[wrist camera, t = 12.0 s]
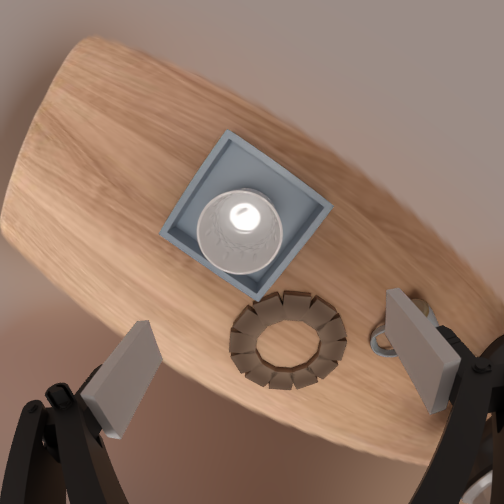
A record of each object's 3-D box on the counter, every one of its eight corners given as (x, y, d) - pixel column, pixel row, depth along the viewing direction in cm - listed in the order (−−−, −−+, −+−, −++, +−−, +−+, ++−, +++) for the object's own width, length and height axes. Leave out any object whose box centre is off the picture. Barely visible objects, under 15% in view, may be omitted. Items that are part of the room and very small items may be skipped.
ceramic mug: (416, 287, 39) (439, 311, 31) (432, 322, 40) (453, 348, 33) (358, 327, 41) (372, 358, 34) (380, 359, 43) (394, 390, 35)
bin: (327, 201, 36) (334, 206, 32) (259, 288, 40) (258, 302, 36) (231, 132, 34) (227, 128, 30) (168, 226, 38) (158, 234, 34)
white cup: (281, 185, 35) (286, 193, 26) (276, 248, 37) (278, 277, 28) (216, 181, 35) (197, 188, 26) (214, 243, 38) (196, 271, 28)
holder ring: (366, 330, 41) (368, 334, 40) (295, 398, 46) (295, 403, 44) (277, 268, 39) (277, 271, 38) (209, 351, 43) (208, 356, 42)
